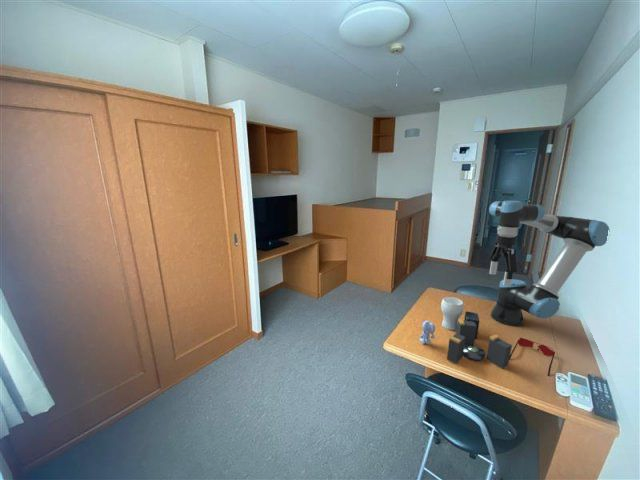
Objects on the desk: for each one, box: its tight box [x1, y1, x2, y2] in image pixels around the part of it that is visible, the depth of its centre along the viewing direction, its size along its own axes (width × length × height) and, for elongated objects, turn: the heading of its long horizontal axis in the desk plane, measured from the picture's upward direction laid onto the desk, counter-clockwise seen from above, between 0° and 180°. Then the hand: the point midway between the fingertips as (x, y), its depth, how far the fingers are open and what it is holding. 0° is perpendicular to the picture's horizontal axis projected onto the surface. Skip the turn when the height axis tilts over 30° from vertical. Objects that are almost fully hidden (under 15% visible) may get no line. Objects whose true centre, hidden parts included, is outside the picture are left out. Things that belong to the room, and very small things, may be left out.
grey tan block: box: [455, 318, 477, 345], centre depth 129 cm, size 7×4×11 cm, turn 81°
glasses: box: [509, 337, 556, 377], centre depth 118 cm, size 14×16×5 cm
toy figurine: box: [419, 320, 436, 345], centre depth 128 cm, size 7×6×12 cm
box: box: [463, 310, 480, 340], centre depth 135 cm, size 8×6×11 cm
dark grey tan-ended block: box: [485, 333, 513, 369], centre depth 114 cm, size 7×4×11 cm, turn 26°
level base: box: [462, 343, 486, 363], centre depth 120 cm, size 10×10×4 cm
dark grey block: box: [446, 333, 466, 365], centre depth 117 cm, size 7×4×11 cm, turn 131°
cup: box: [440, 296, 464, 331], centre depth 142 cm, size 11×11×15 cm
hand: (499, 279), depth 125 cm, fingers open, 13 cm apart
